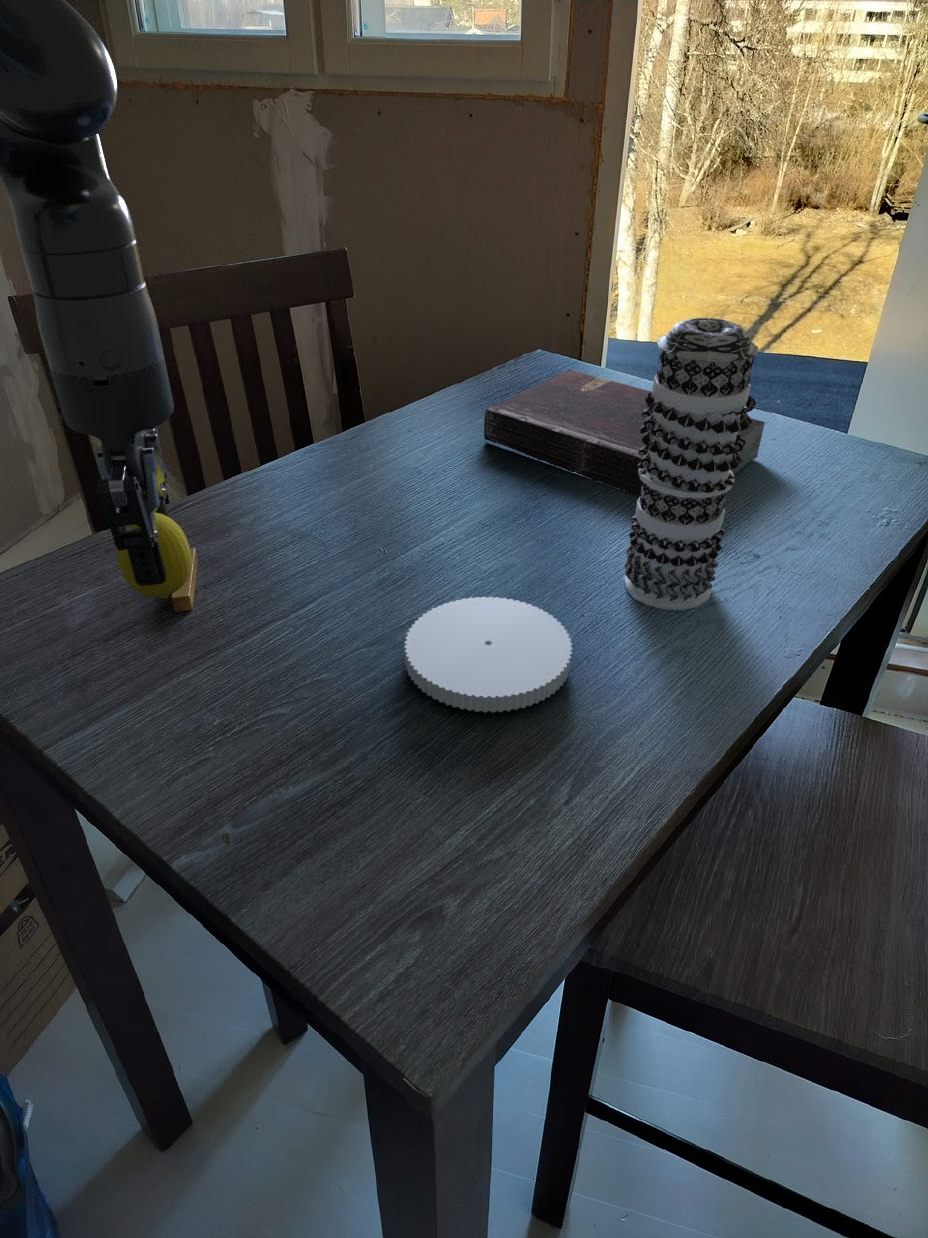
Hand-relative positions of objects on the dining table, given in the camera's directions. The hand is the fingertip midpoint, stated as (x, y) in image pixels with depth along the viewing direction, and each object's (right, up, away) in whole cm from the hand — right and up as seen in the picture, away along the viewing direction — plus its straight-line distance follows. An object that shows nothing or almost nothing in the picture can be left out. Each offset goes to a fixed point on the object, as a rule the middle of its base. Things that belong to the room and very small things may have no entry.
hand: (155, 561), depth 68 cm
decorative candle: (+45, -2, +15) cm, 47 cm away
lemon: (0, -3, +2) cm, 4 cm away
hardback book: (+45, +17, +40) cm, 62 cm away
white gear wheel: (+27, -9, +4) cm, 29 cm away
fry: (-2, -1, +14) cm, 14 cm away
